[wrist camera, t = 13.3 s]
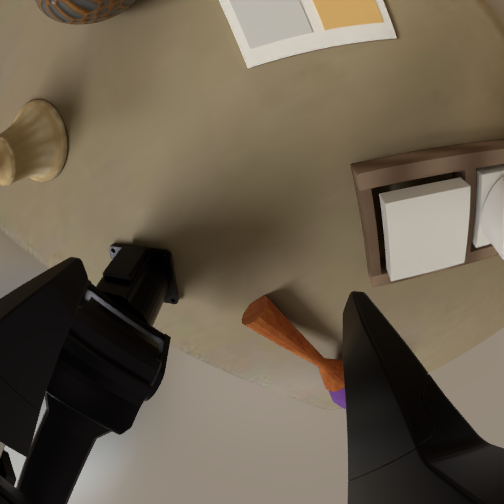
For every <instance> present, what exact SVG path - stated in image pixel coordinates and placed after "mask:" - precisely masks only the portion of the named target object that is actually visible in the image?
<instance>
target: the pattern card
mask: <svg viewBox="0 0 504 504" xmlns="http://www.w3.org/2000/svg"><path fill="white" fill-rule="evenodd" d="M219 2H220V4H221V6H222V8H223V11H224V13H225V15H226V17H227V20H228V22H229V24H230V26H231V29H232V31H233V33H234V36H235V38H236V41H237V43H238V45H239V48H240V50H241V53H242V55H243V57H244V60H245V62H246V65H247V67H248V68H252V67H255V66H258V65H261V64H264V63H268V62H271V61H274V60H278V59H282V58H285V57H289V56H293V55H297V54H301V53H305V52H310V51H314V50H319V49H324V48H329V47H334V46H340V45H346V44H352V43H359V42H367V41H375V40H385V39H395V38H397V37H396V34H395V31H394V28H393V25H392V22H391V20H390V17H389V14H388V12H387V9H386V7H385V4H384V2H383V0H219Z"/></svg>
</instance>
